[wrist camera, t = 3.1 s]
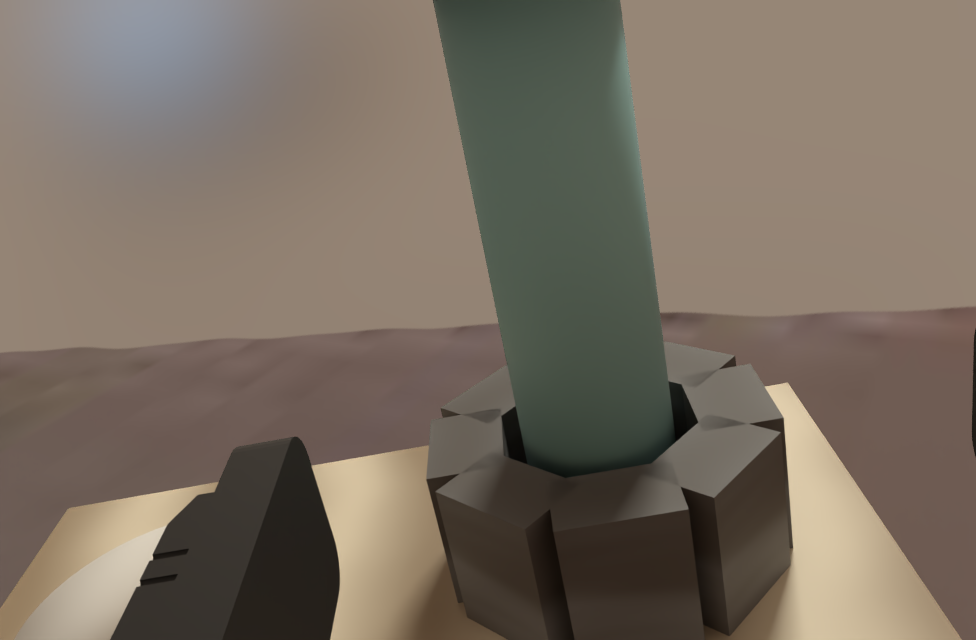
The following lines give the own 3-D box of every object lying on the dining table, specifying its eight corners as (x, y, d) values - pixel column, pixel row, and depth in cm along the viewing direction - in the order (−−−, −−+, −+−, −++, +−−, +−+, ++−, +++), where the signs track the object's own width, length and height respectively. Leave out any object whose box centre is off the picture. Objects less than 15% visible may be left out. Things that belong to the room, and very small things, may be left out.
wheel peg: (496, 651, 23) (316, -93, 16) (490, 491, 30) (359, -90, 23) (778, 606, 23) (713, -177, 16) (710, 453, 29) (643, -151, 22)
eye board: (-150, 916, 21) (-271, 745, 19) (83, 541, 34) (26, 413, 32) (996, 745, 20) (1004, 538, 18) (790, 420, 33) (780, 276, 31)
